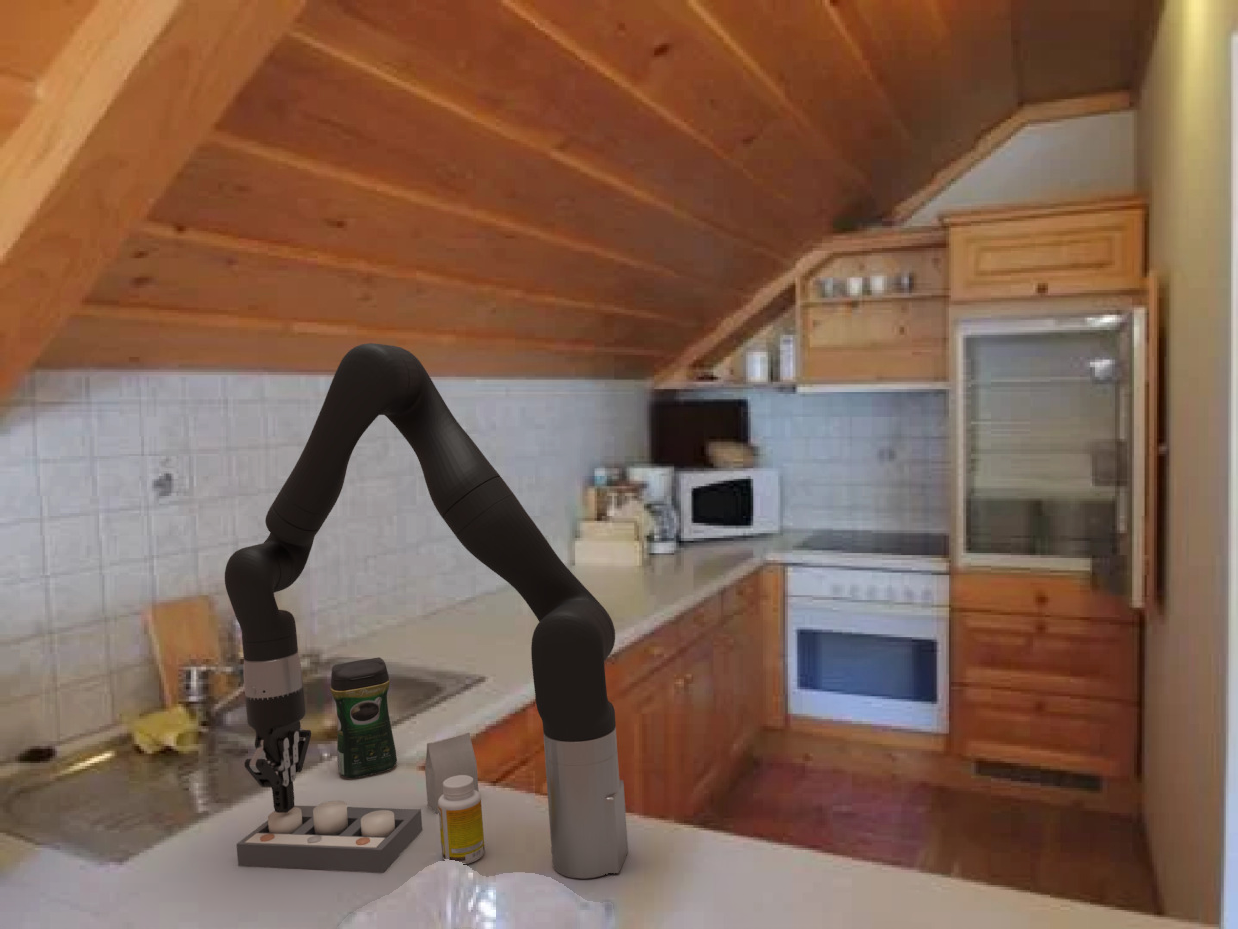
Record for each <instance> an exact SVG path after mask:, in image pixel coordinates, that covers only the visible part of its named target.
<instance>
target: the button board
mask: <svg viewBox="0 0 1238 929" xmlns="http://www.w3.org/2000/svg"><path fill="white" fill-rule="evenodd" d="M316 806H317V805H295V806H294V807H297V808H300V809H301V812H302V824H303V825H302V826H301V827H300V828H298V829H297V830H296V831H295V832H294V833H292V834H283V833H269V826H268V819H267V820H266V821H265V822H264V823H262V824H261V825H259V826H258V827H257V828H256V829H254V830H253V831H252V832H250V833H249V834H248V835H246V836H245V837H244V838H242V839H241V840H240V841H239V842H237V843H236V856H237V866H238V867H252V868H254V867H255V868H273V869H274V868H275V869H276V868H277V869H296V870H297V869H298V870H299V869H300V870H315V871H316V870H319V871H340V872H341V871H343V872H359V873H362V872H363V873H384V872H385V871H387V869H388V868H389V867H391V865H392V864H393V863H394V862H395V861H396V860H397V858H399V856H400V855H401V854H402V853H403V852H404V851H405V850H406V849H407V848H408V846H409V845H410V844H411V843H412V842H413V841H414V840H415V839H416V838H417V837H418V836H419V834H420V833H421V832H422V831H423V822H422V821H423V818H422V809H420V808H392V807H391V808H387V807H385V808H384V807H359V806H358V807H356V806H354V807H353V806H352V807H350V806H347V816H348V828H347V829H346V830H345V831H343V832H342V833H339V834H336V835H316V834H315V829H314V817H313V809H314V808H315V807H316ZM378 810H389V811H392V812H393V813H394V819H395V830H394V831H393V832H392V833H391V834H390V835H389V836H388V837H364V836H362V831H361V818H362V817H363V816H364V815H366V814H368V813H370V812H373V811H378Z"/></svg>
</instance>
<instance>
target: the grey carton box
mask: <svg viewBox="0 0 1238 929" xmlns="http://www.w3.org/2000/svg"><path fill="white" fill-rule="evenodd" d="M425 755H426V756H425V763H424V772H425V773H424V774H425V789H426V803H427V806H429V807H428V808H430V809H431V810H432V811H433V810H434V811H435V812H434V811H433V812H434V813H435V814H438V813H439V809H438V800H439V798H440V797H441V796H442V795H443V782H444V781H445V780H446V779H448V778H450V777H453V776H458V775H467V776H470V777H472V778H473V783H474V790H476V791H478V792H479V793H480V791H479V780H478V778H479V777H478V767H477V766H478V765H477V758H476V756H475V752H474V747H473V743H472V738H471V733H470V732H466V733H465V732H464V733H462V734H457V735H455V736H451V737H447V738H443V739H439V740H435V741H432V742H429V743H428V742H427V744H426V754H425ZM438 815H439V814H438Z"/></svg>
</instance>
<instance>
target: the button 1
mask: <svg viewBox="0 0 1238 929" xmlns="http://www.w3.org/2000/svg"><path fill="white" fill-rule="evenodd" d="M267 820H268V826H269V833H283V834H292V833H294V832H295V831H296V830H297V829H298V828H300V827H301V826H302V825H303V824H302V812H301V809H300V808H297V807H294V808H292V809H291V810H290V811H289V812H287V813H277V812H276V811H275V810H274V811H272V812H271V813H269V814H268V816H267Z"/></svg>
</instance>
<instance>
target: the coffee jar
mask: <svg viewBox="0 0 1238 929" xmlns="http://www.w3.org/2000/svg"><path fill="white" fill-rule="evenodd" d="M330 677H331V678H330V693H331V696H332V698H333V700H334V702H335V708H336V719H337V723H336V724H337V741H336V742H337V747H336V748H337V749H336V751H337V754H336V755H337V759H336V760H337V770H338V773H339V774H340V776H342V777H344V778H348V779H354V778H355V779H356V778H361V777H366V775H367V776H371V774H372V775H375V773H376V774H379V773H382V772H386V771H389V770H391V769H393V767H395V766H396V764H397V762H398V759H397V750H396V744H395V739H394V734H393V730H392V724H391V719H390V714H389V712H390V711H389V706H388V691H389V688H390V685H391V684H390V683H391V682H390V676H389V672H388V669H387V664H386V662H385V660H384V659H383V658H381V657H372V658H367V659H360V660H353V661H349V662H343V663H338V664H333V666H332V667H331V675H330Z"/></svg>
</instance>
